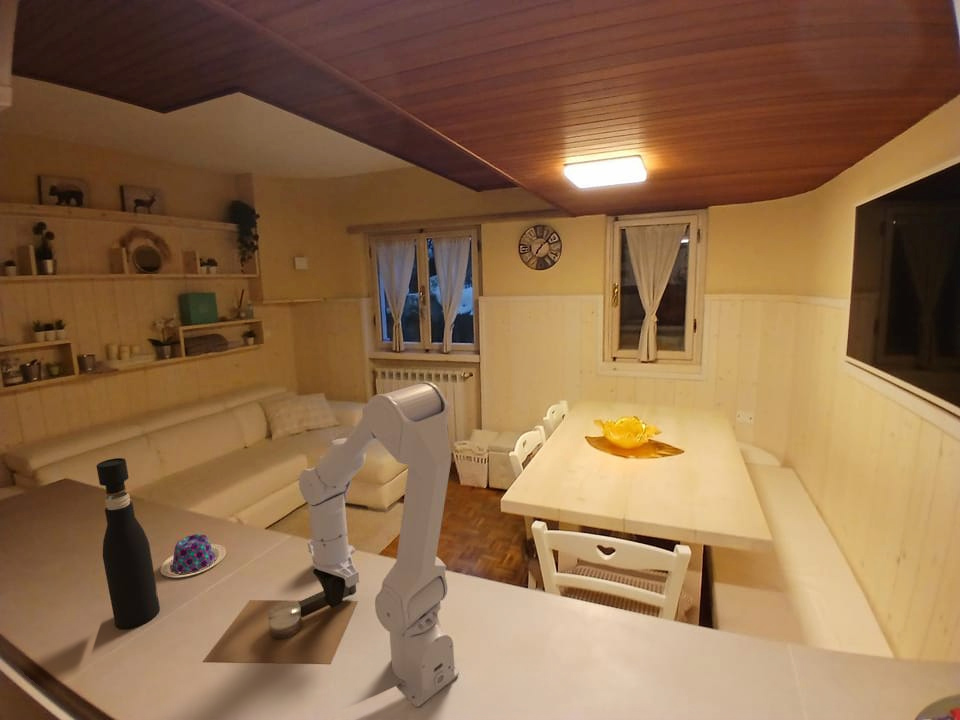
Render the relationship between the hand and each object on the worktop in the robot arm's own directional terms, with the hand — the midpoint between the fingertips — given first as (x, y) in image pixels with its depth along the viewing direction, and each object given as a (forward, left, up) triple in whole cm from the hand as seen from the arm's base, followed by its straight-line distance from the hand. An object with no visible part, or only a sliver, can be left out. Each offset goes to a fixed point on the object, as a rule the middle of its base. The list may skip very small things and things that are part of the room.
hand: (335, 604), depth 83 cm
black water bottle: (+24, +25, -3) cm, 35 cm away
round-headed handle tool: (+2, +3, -1) cm, 4 cm away
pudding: (+38, +13, -4) cm, 41 cm away
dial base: (+2, +8, -3) cm, 9 cm away
